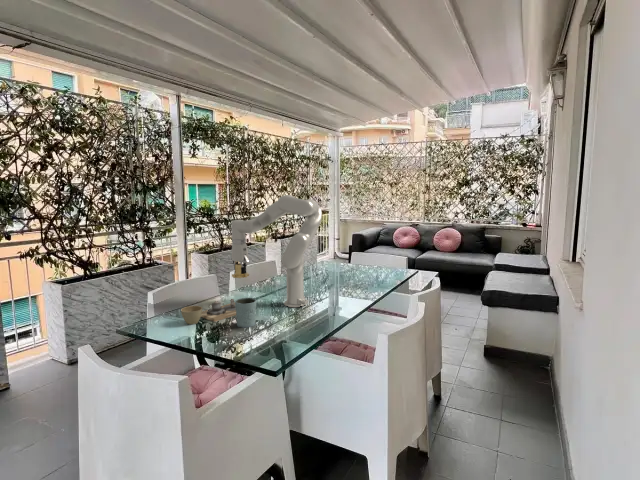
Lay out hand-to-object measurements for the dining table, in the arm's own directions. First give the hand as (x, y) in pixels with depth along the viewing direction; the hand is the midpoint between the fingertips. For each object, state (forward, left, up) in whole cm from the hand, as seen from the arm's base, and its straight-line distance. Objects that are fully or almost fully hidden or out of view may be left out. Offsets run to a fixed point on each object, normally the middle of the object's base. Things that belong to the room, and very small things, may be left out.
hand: (240, 272), depth 218 cm
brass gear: (0, 0, -2) cm, 2 cm away
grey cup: (-32, +22, -17) cm, 43 cm away
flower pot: (-9, +37, -17) cm, 42 cm away
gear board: (-9, +17, -17) cm, 26 cm away
